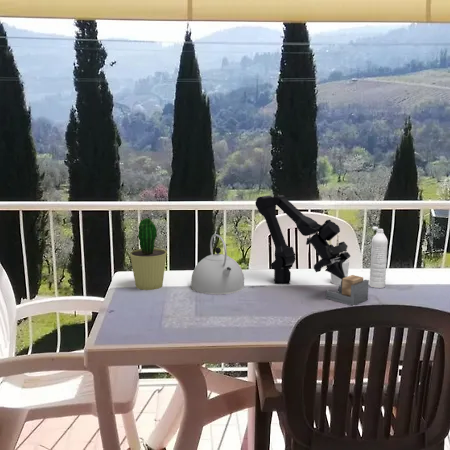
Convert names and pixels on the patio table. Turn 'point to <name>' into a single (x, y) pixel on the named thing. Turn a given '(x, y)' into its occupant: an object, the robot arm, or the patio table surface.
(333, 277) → the white cup
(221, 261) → the kettle
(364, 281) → the grey open holder
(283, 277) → the robot arm
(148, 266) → the potted cactus
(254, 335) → the patio table surface
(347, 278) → the tan box
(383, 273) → the water bottle
